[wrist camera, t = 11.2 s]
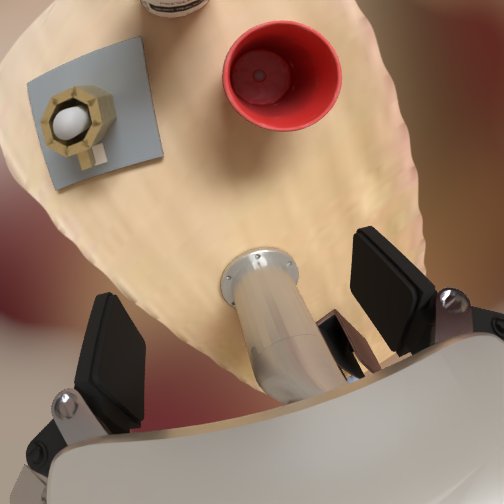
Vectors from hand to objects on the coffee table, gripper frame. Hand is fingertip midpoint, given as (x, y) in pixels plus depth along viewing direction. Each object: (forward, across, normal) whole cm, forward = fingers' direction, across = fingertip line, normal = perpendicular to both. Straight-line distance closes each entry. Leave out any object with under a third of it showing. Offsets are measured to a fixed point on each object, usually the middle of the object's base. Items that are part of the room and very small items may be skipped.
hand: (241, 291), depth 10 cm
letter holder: (+28, -19, +46) cm, 57 cm away
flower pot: (+26, -8, -8) cm, 28 cm away
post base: (+25, +12, -9) cm, 29 cm away
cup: (+24, +12, -8) cm, 28 cm away
